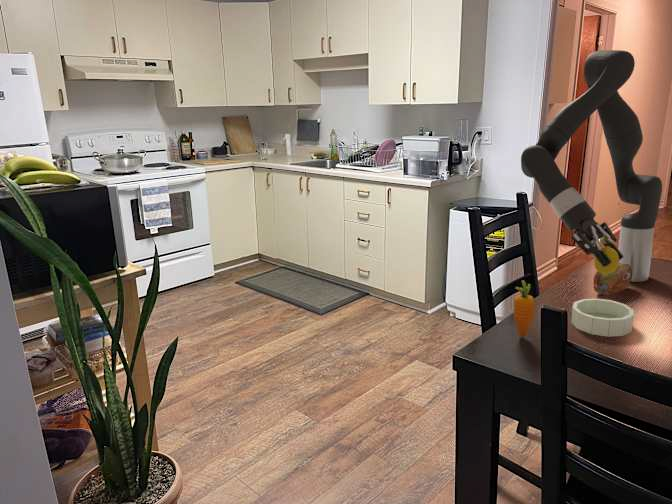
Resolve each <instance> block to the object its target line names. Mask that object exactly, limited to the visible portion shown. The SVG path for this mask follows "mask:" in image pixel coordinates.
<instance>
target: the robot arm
mask: <svg viewBox="0 0 672 504" xmlns="http://www.w3.org/2000/svg"><path fill="white" fill-rule="evenodd" d="M635 61H636V60H635V58H634V56H633V54H632V53H631V52H630V51H628V50H627V51H626V50H619V49H617V50H615V49H614V50H613V49H612V50H611V49H610V50H609V49H608V50H607V49H605V50H604V49H603V50H602V49H601V50H594V51H593V52H591V53H590V54H589V55H588V56H587V57H586V59H585V61H584V65H583V76H584V77H583V78H584V81H585V83H586V86H587V88H588V90H586V91H585V92H584V93H583V94H581V95H580V96H579V97H578V98H576V99H574V100H573V101H571V102H569V103H568V104H567V105H566V106H564V107H563V108H561V109H560V110H559V111H558V112H557V113H556V114H555V115H554V117H553V118H552V119H551V120H550V121H549V123H548V124H547V125H546V126H545V128H544V129H543V130H542V132H541V133H540V137H539V139H538V141H537V142H536V144H534V145H533V144H532V145H529V146H528V147H526V148H525V149H523V151H522V153H521V156H520V167H521V170H522V173H523V174H524V175H525V177H528V178H531V179H534V180H535V182H536V183H537V186H538V188H539V191H540V192H541V194H542V195H543V197H544V198H545V200H546V201H547V202H548V203H549V204H550V206H551V207H552V210H553V211H554V212H555V214H556V215H557V216H558V218H559V219H560V220H561V223H563V225H564V226H565V227H566V228H567V229H568V231H569V232H574V231H575V233H574V234H573V235H572V236H570V237H571V239H572V241H574V243H575V244H576V245H577V246H578V247H579V248H580V249H581V250H582V251H583V252H584V253H585V254H586V255H592V256H594V258H595V257H596V258H597V259H598V260H599V262H600V263H601V264H602V266H604V267H605V266H607V265H609V264H610V263H611V260H610V259H609V257H608V256H607V255H606V254H605V252H604V251H603V250H602V249H601V248H604V247H606V246H610V248H613V249H614V250H615V251H616V252H617V253H618V256H619V263H623V264H628V265H629V266H630V267H631V269H632V278H631V282H633V283H634V282H636V283H637V282H638V283H641V282H645V281H648V279H649V277H650V270H651V261H652V255H653V254H652V253H653V249H652V248H653V243H654V235H655V227H656V226H655V225H656V220H657V218H658V215H659V207H660V204H661V197H662V193H663V181H662V180H661V178H660V177H659V176H656V175H647V174H646V175H645V174H637V173H636V172H635V171H634V167H633V161H634V160H635V157H636V155H637V154H638V152H639V150H640V148H641V146H642V144H643V141H644V140H643V139H644V137H643V136H644V135H643V131H642V127H641V122H640V120H639V117H638V115H637V114H636V113H635V111H634V110H633V109H632V108H631V106H630V105H629V104H628V103H627V102H626V100H624V98H623V97H622V96H621V95H620V93H619V91H618V90H619V89H621V88H622V87H623V86H624V85H625V84H626V83H627V82H628V81H629V79H630V78H631V77H632V75H633V72H634V70H635V66H636V65H635V64H636V63H635ZM596 111H597V114H598V116H599V117H598V118H599V120H600V122H601V126H602V131H603V134H604V138H605V141H606V145H607V147H608V151H609V155H610V158H611V162H612V167H613V170H614V171H613V172H614V178H615V184H616V190H617V194H618V197H619V199H620V201H622V202H623V203H625V204H630V205H635V206H636V205H637V206H639V209H638V211H637V212H635V213H629V214H625V215H623V216H622V217H621V219H620V220H621V221H620V230H619V239H617V238H616V236H615V234H614V232H613V231H612V230H611V228H610V227H609V226H608V224H607V222H604V221H603V222H602V223H598V222H597V221H596V220H594V219H595V217H596V216H597V213H596V212H595V211H594V209H593V208H592V207H591V205H590V204H589V203H588V202H587V201H586V199H585V198H584V197H583V195H582V194H581V193H580V192H579V191H577V189H576V188H574V186H573V185H572V184H571V182H570V181H569V180H568V179H567V178H566V177H565V176H564V174H563V173H562V172H561V170H560V167H558V165H557V163H556V161H555V160H556V158H557V157H558V155H559V154H560V152H561V151H562V149H563V148H564V147H565V146H566V144H567V143H568V142H569V141H570V140H571V139H572V137H573V136H574V134H575V133H576V132H577V131H578V130H579V128H581V126H582V125H583V124H584V123H585V122H586V121H587V119H589V117H591V115H592V114H593V113H595V112H596ZM618 240H619V241H618ZM617 241H618V247H617V246H616V242H617ZM601 246H602V247H601Z"/></svg>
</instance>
